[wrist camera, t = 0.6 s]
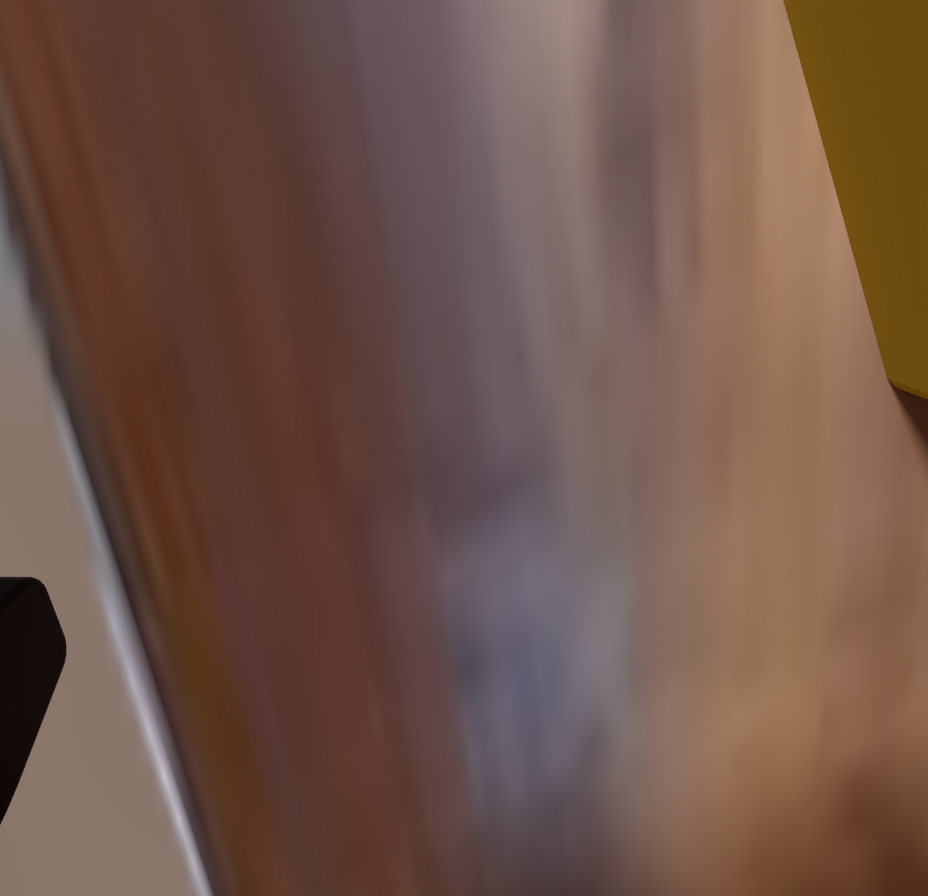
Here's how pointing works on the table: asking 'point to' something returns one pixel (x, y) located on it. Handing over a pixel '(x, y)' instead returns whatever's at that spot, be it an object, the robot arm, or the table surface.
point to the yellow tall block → (877, 157)
